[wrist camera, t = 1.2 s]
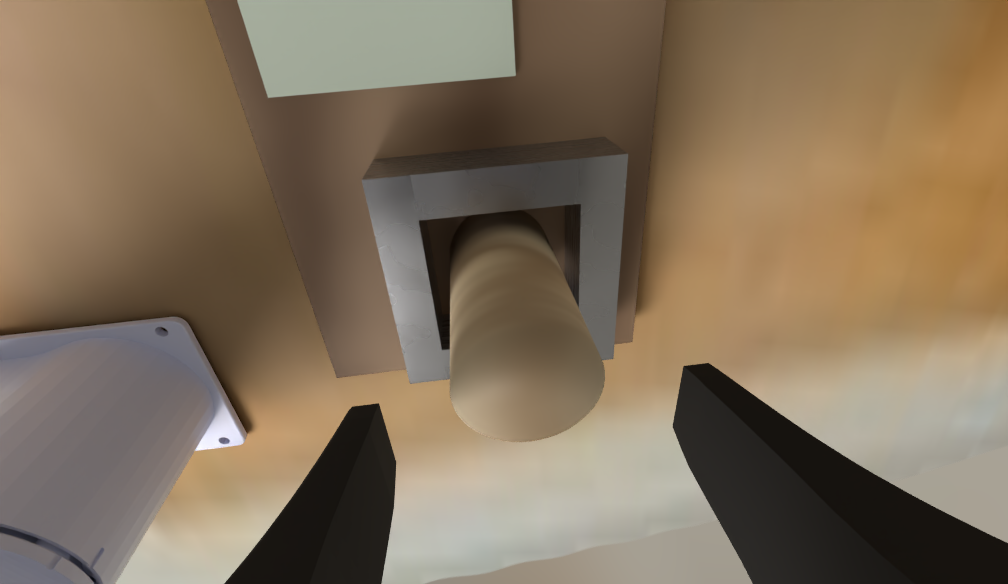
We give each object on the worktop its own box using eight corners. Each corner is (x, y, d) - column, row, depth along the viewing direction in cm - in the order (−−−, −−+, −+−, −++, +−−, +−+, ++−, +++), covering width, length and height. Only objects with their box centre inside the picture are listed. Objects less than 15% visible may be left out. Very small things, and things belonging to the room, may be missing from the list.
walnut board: (343, 357, 22) (336, 377, 21) (128, -298, 11) (87, -340, 10) (622, 324, 23) (632, 342, 22) (675, -322, 12) (701, -363, 11)
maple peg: (456, 299, 19) (460, 450, 12) (443, 211, 17) (439, 334, 10) (548, 289, 19) (601, 431, 13) (546, 200, 17) (608, 314, 11)
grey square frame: (414, 345, 20) (409, 383, 18) (373, 159, 16) (361, 179, 14) (596, 324, 21) (613, 358, 19) (604, 136, 16) (628, 153, 14)
